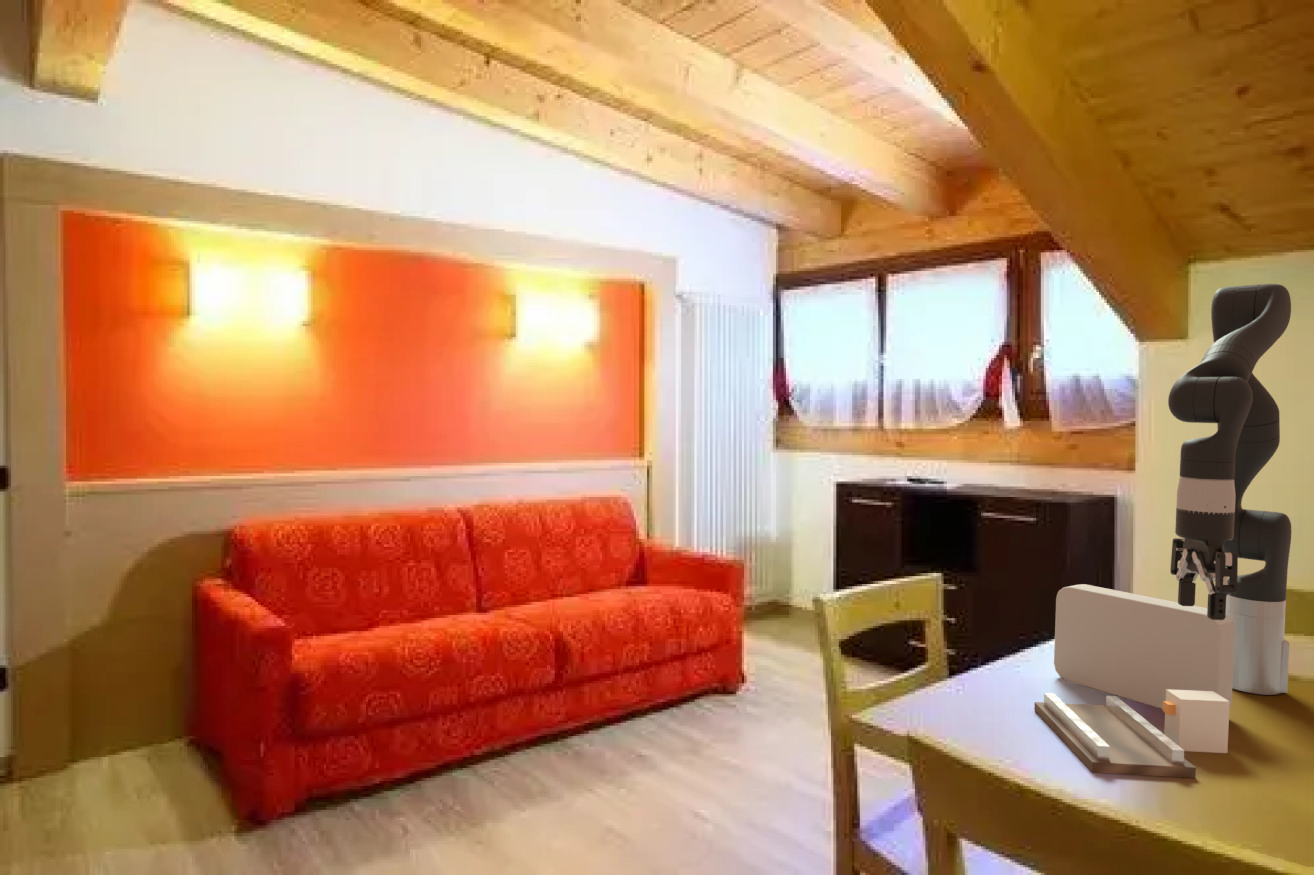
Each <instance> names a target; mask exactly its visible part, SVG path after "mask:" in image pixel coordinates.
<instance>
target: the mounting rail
mask: <svg viewBox="0 0 1314 875" xmlns="http://www.w3.org/2000/svg"><path fill="white" fill-rule="evenodd" d="M1105 698H1106V699H1105V705H1106V708H1107V709H1108V710H1110V711H1111V712H1112V713H1113V714H1114V715H1115V716H1117V717H1118V718H1119V719H1120V720H1121V721H1122V722H1124V723H1125V724H1126V725H1127V726H1128V727H1130V728H1131V729H1132V730H1133V731H1134V732H1135V733H1137V734H1138V735H1139V736H1140V737H1141V738H1142V739H1144V740H1145V741H1146V742H1147V743H1148V744H1150V745H1151V746H1152V747H1153V748H1154V749H1155V750H1157V751H1158V752H1159V753H1160V754H1161V755H1162V756H1164V757H1165V758H1166V759H1167V760H1168V761H1169V762H1171V763H1172V764H1184V758H1185V751H1184V750H1183V749H1182V748H1181V747H1179V746H1178V745H1177V744H1176V743H1174V742H1173V741H1172V740H1171V739H1169V738H1168V737H1167V736H1166V735H1164V732H1162V731H1161V730H1160V729H1158V728H1157V727H1156V726H1154V725H1153V724H1152V723H1151V722H1149V721H1148V720H1147V719H1146V718H1144V717H1143V716H1142V715H1141V714H1139V713H1138V712H1137V711H1135V709H1133V708H1131V707H1130V706H1129V705H1128V704H1127V703H1126V702H1124V701H1123V700H1122V699H1121V698H1120V697H1119V696H1117V695H1106V696H1105ZM1043 702H1044V705H1045V706H1046V707H1047V708H1048V709H1049V710H1050V711H1051V712H1052V713H1053V714H1054V715H1055V716H1056V717H1057V718H1058V720H1059V721H1060V722H1061V723H1062V724H1063V725H1064V726H1065V727H1066V728H1067V729H1068V730H1069V731H1070V732H1071V733H1072V734H1073V735H1074V736H1075V737H1076V738H1077V739H1078V740H1079V741H1080V742H1081V743H1082V744H1083V745H1084V746H1085V747H1086V748H1087V749H1088V750H1089V751H1090V752H1091V753H1092V754H1093V755H1094V756H1095V757H1096V758H1097V759H1098V760H1110V746H1109V745H1108V744H1107V743H1106V742H1105V741H1104V740H1103V739H1102V738H1100V737H1099V736H1098V735H1097V734H1096V733H1095V732H1094V731H1093V730H1092V729H1091V728H1090V727H1089V726H1088V725H1087V724H1086V723H1085V722H1084V721H1083V720H1081V719H1080V718H1079V717H1078V716H1077V715H1076V714H1075V713H1074V712H1073V711H1072V710H1071V709H1070V708H1069V707H1068V706H1067V705H1066V704H1067V703H1066V704H1065V702H1064V701H1062V699H1061V698H1060V697H1058V696H1057V695H1056V694H1055V692H1053V693H1052V692H1044V693H1043Z"/></svg>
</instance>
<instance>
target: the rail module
mask: <svg viewBox="0 0 1314 875" xmlns="http://www.w3.org/2000/svg"><path fill="white" fill-rule="evenodd" d="M1229 705H1230V701H1228V700H1226V699H1225V698H1223V697H1222V696H1220V695H1218V694H1217V693H1215V692H1213V691H1195V690H1172V689H1166V701H1163V709H1162V712H1163V713H1164V732H1163V734H1164V735H1166V736H1167V737H1168V738H1169V739H1171V740H1172V741H1173V742H1174V743H1176V744H1177V745H1178V746H1179V747H1181V748H1182V749H1183V750H1184V752H1196V753H1197V752H1199V753H1216V754H1218V753H1219V754H1228V749H1229V748H1228V747H1229V746H1228V744H1229V727H1230V726H1229V725H1230V724H1229V722H1230V709H1229Z"/></svg>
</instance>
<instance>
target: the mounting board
mask: <svg viewBox="0 0 1314 875" xmlns="http://www.w3.org/2000/svg"><path fill="white" fill-rule="evenodd" d="M1064 703H1065V702H1064ZM1065 704H1066V705H1067V706H1068V707H1069V708H1070V709H1071V710H1072V711H1073V712H1074V713H1075V714H1076V715H1077V716H1078V717H1079V718H1080V719H1081V720H1083V721H1084V722H1085V723H1086V724H1087V725H1088V726H1089V727H1090V728H1091V729H1092V730H1093V731H1094V732H1095V733H1096V734H1097V735H1098V736H1099V737H1100V738H1102V739H1103V740H1104V741H1105V742H1106V743H1107V744H1108V745H1109V746H1110V760H1098V759H1097V758H1096V757H1095V756H1094V755H1093V754H1092V753H1091V752H1090V751H1089V750H1088V749H1087V748H1086V747H1085V746H1084V745H1083V744H1082V743H1081V742H1080V741H1079V740H1078V739H1077V738H1076V737H1075V736H1074V735H1073V734H1072V733H1071V732H1070V731H1069V730H1068V729H1067V728H1066V727H1065V726H1064V725H1063V724H1062V723H1061V722H1060V721H1059V720H1058V718H1057V717H1056V716H1055V715H1054V714H1053V713H1052V712H1051V711H1050V710H1049V709H1048V708H1047V707H1046V706H1045V705H1044V701H1043V702H1040V701H1034V707H1033V708H1034V710H1035V711H1034V712H1035V713H1036V714H1037V713H1038V714H1037V715H1038V717H1039V718H1041V719H1042V720H1043V722H1044V723H1045V722H1046V723H1047V724H1046V723H1045V724H1046V725H1047V726H1048V727H1049V726H1050V727H1049V728H1050V730H1052V731H1053V732H1054V733H1055V735H1057V737H1058V738H1060V740H1061V741H1062V742H1063V743H1064V744H1065V746H1067V748H1068V749H1070V751H1072V753H1074V755H1075V756H1076V757H1077V758H1078V759H1079V760H1080V761H1081V762H1082V763H1083V765H1084V766H1085V767H1086V768H1087V769H1088V770H1089V771H1090V772H1091V773H1096V774H1097V773H1098V774H1117V775H1134V776H1136V775H1137V776H1151V777H1152V776H1153V777H1170V778H1187V777H1189V778H1190V779H1196V778H1197V777H1196V776H1197V773H1196V772H1197V771H1196V770H1197V768H1196V766H1194V764H1192V763H1191V762H1190V761H1189V760H1188V759H1187V758H1185V757H1184V764H1172V763H1171V762H1169V761H1168V760H1167V759H1166V758H1165V757H1164V756H1162V755H1161V754H1160V753H1159V752H1158V751H1157V750H1155V749H1154V748H1153V747H1152V746H1151V745H1150V744H1148V743H1147V742H1146V741H1145V740H1144V739H1142V738H1141V737H1140V736H1139V735H1138V734H1137V733H1135V732H1134V731H1133V730H1132V729H1131V728H1130V727H1128V726H1127V725H1126V724H1125V723H1124V722H1122V721H1121V720H1120V719H1119V718H1118V717H1117V716H1115V715H1114V714H1113V713H1112V712H1111V711H1110V710H1108V709H1107V708H1106V704H1105V705H1103V704H1086V703H1085V704H1084V703H1083V704H1082V703H1081V704H1080V703H1065Z"/></svg>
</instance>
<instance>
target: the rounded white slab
mask: <svg viewBox="0 0 1314 875" xmlns="http://www.w3.org/2000/svg"><path fill="white" fill-rule="evenodd" d="M1207 609H1208V607H1202V606H1197V605H1194V606H1182V605H1179V604H1178V601H1172V600H1167V599H1162V598H1158V597H1157V598H1156V597H1151V596H1148V595H1147V596H1146V595H1142V594H1136V593H1131V592H1126V591H1122V590H1117V589H1111V588H1105V587H1100V586H1095V585H1092V584H1085V583H1084V584H1083V583H1081V584H1074V585H1069V586H1064V587H1062V588H1061V589H1059V590H1058V592H1057V594H1056V598H1055V623H1054V625H1055V626H1054V631H1055V632H1054V650H1053V651H1054V652H1053V653H1054V655H1053V665H1054V669H1055V672H1056V673H1057V675H1059V677H1060V678H1061V679H1063V680H1065V681H1067V682H1070V683H1071V682H1072V683H1075V684H1077V683H1078V685H1080V684H1081V686H1084V687H1086V688H1087V687H1088V688H1090V687H1091V689H1094V690H1097V691H1100V692H1104V693H1107V694H1111V695H1113V696H1117V697H1119V698H1120V697H1121V698H1124V699H1128V700H1131V701H1134V702H1138V703H1140V704H1141V703H1142V704H1144V705H1148V706H1150V707H1151V706H1152V707H1154V708H1157V709H1161V710H1163V701H1166V689H1172V690H1195V691H1213V692H1215V693H1217V694H1218V695H1220V696H1222V697H1223V698H1225V699H1226V700H1228V701H1230V705H1229V710H1231V706H1232V704H1233V703H1232V702H1233V701H1232V700H1233V688H1232V682H1233V660H1234V638H1235V628H1234V624H1233V621H1232V620H1231V618H1230V617H1229V616H1228V615H1227V614H1226V616H1225V619H1224V620H1212V619H1210V618H1208V616H1207Z"/></svg>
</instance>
